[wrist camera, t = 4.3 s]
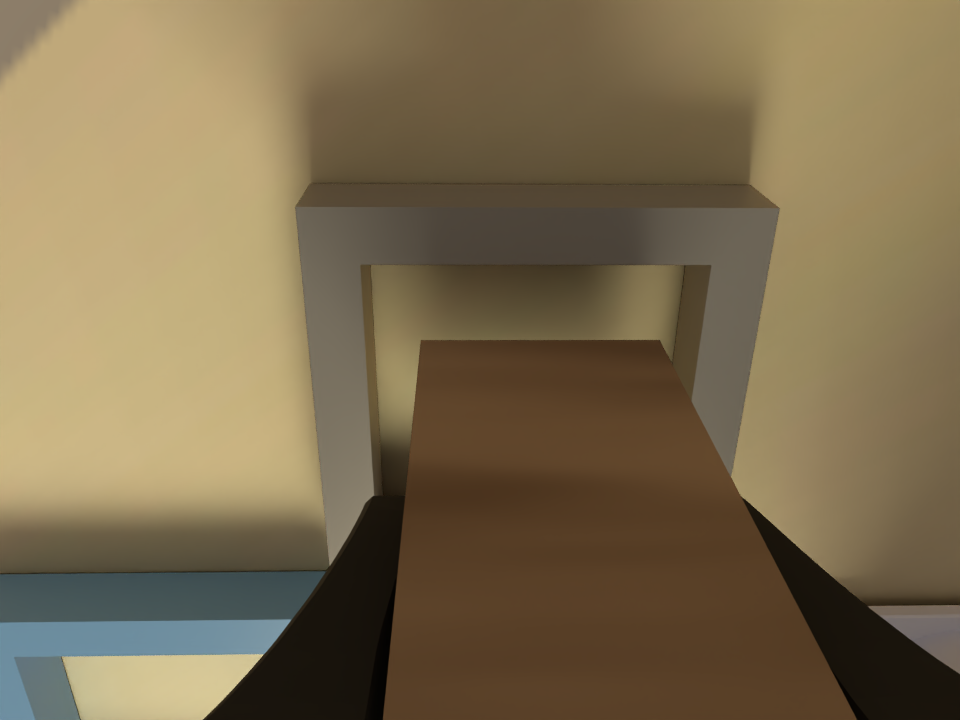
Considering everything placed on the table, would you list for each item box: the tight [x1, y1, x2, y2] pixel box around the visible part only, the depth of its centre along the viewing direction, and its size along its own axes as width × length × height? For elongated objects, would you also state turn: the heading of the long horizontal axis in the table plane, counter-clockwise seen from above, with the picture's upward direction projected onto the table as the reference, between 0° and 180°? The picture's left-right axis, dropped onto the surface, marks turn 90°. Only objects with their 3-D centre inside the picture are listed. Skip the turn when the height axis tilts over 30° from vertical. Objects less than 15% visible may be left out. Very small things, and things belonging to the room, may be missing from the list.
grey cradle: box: [295, 184, 780, 565], centre depth 16 cm, size 8×8×2 cm
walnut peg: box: [383, 340, 857, 720], centre depth 11 cm, size 4×4×8 cm
